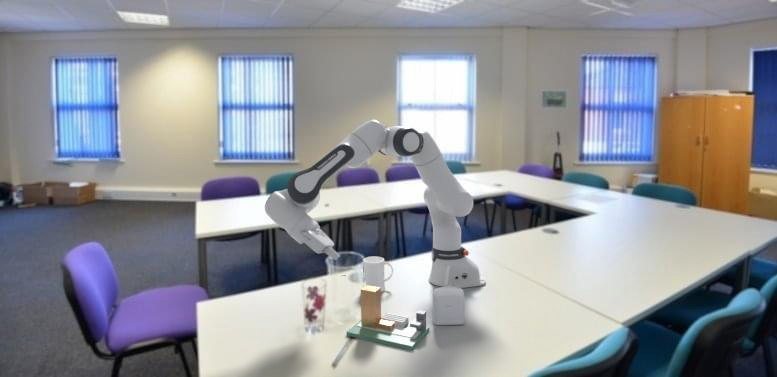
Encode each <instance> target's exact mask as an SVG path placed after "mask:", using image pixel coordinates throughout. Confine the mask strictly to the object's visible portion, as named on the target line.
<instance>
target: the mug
mask: <svg viewBox="0 0 777 377" xmlns="http://www.w3.org/2000/svg"><path fill="white" fill-rule="evenodd" d="M362 262H363V264H362V265H363V273H364V274H363V278H364V277H365V279H366V285H369V286H375V287H381V293H383V292H384V291H385V290H386V284H385V282H387V281H389V280H390V279H391V278H392V276H393V273H394V268H393V266H392V264H391V263H390V262H388V261H385V258H384V257H381V256H377V255H376V256H373V255H372V256H367V257H365V258H363V260H362ZM385 265H388V266H389V267H390V269H391V273H390V275H389V276H388V277H387V278H385Z"/></svg>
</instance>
